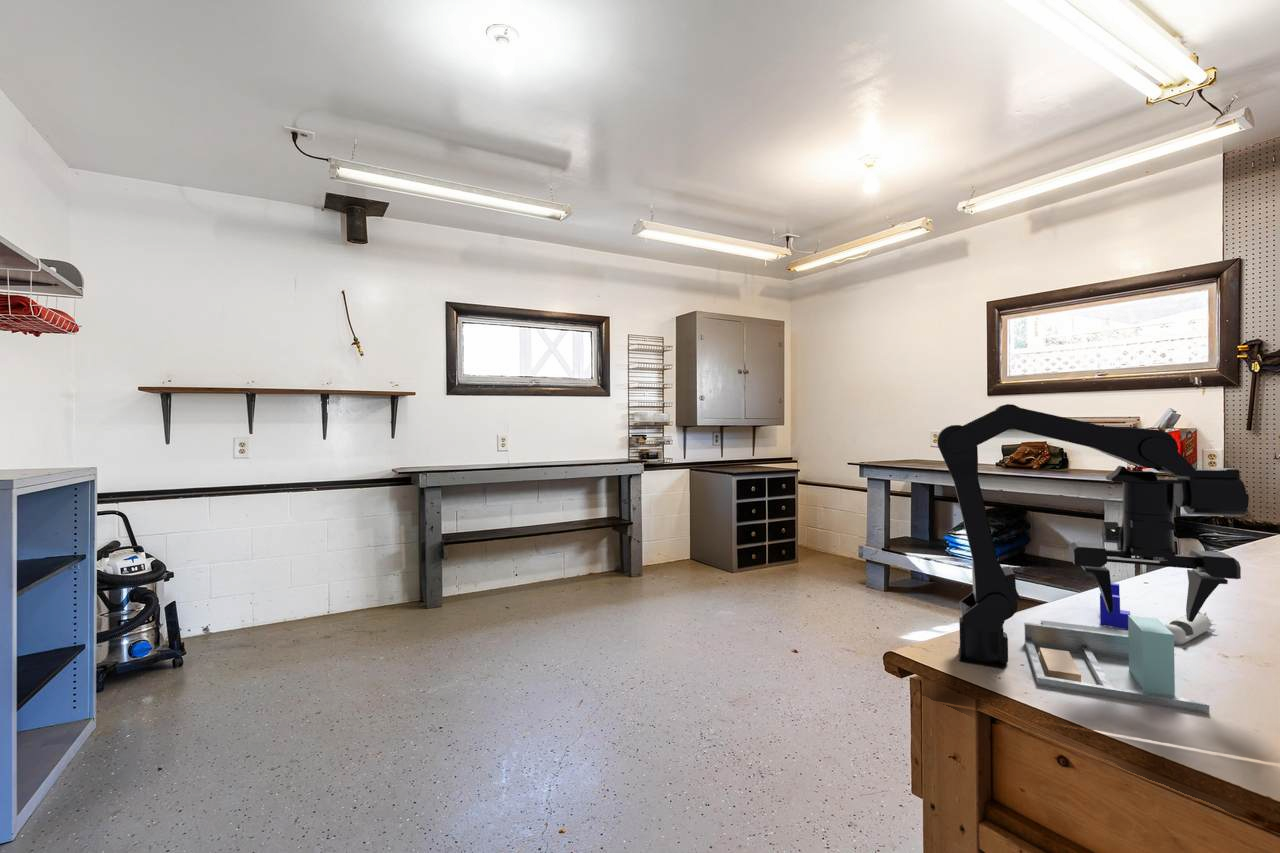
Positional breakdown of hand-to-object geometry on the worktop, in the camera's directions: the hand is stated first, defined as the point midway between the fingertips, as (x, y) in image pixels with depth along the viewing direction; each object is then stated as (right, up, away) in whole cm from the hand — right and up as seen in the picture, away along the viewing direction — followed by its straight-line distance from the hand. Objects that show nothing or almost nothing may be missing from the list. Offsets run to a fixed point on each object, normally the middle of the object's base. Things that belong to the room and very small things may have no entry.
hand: (1148, 616), depth 87 cm
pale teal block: (0, -10, 0) cm, 10 cm away
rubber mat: (+5, -10, +18) cm, 21 cm away
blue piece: (+19, -10, +29) cm, 36 cm away
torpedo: (+25, -10, +20) cm, 33 cm away
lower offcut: (-10, -11, +5) cm, 15 cm away
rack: (-5, -10, +3) cm, 11 cm away
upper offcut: (-10, -10, +5) cm, 15 cm away
